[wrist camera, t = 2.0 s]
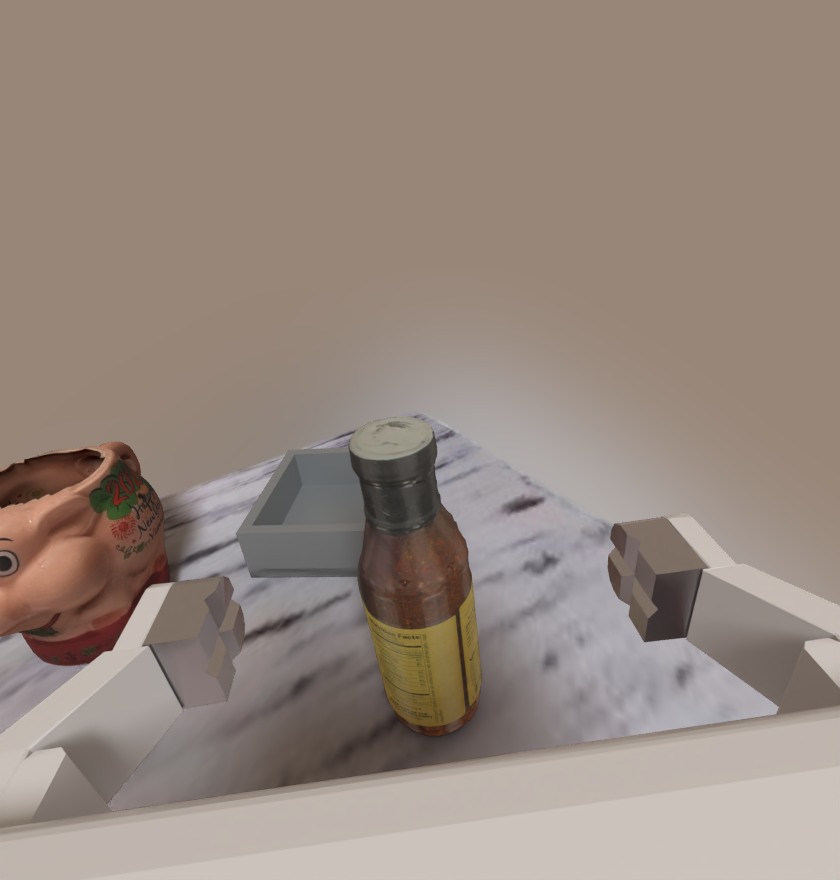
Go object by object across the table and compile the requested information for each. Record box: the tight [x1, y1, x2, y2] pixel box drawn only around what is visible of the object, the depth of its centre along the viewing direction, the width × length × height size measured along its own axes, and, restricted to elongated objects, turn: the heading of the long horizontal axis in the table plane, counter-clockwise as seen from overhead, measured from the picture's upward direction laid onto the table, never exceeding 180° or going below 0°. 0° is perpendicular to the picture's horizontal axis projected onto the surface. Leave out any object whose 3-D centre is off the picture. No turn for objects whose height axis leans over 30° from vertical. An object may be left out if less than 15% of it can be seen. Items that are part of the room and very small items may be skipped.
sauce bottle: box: [348, 417, 482, 737], centre depth 28 cm, size 6×6×20 cm
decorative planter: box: [0, 442, 170, 666], centre depth 39 cm, size 20×12×14 cm, turn 8°
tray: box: [236, 448, 366, 577], centre depth 48 cm, size 14×14×5 cm
